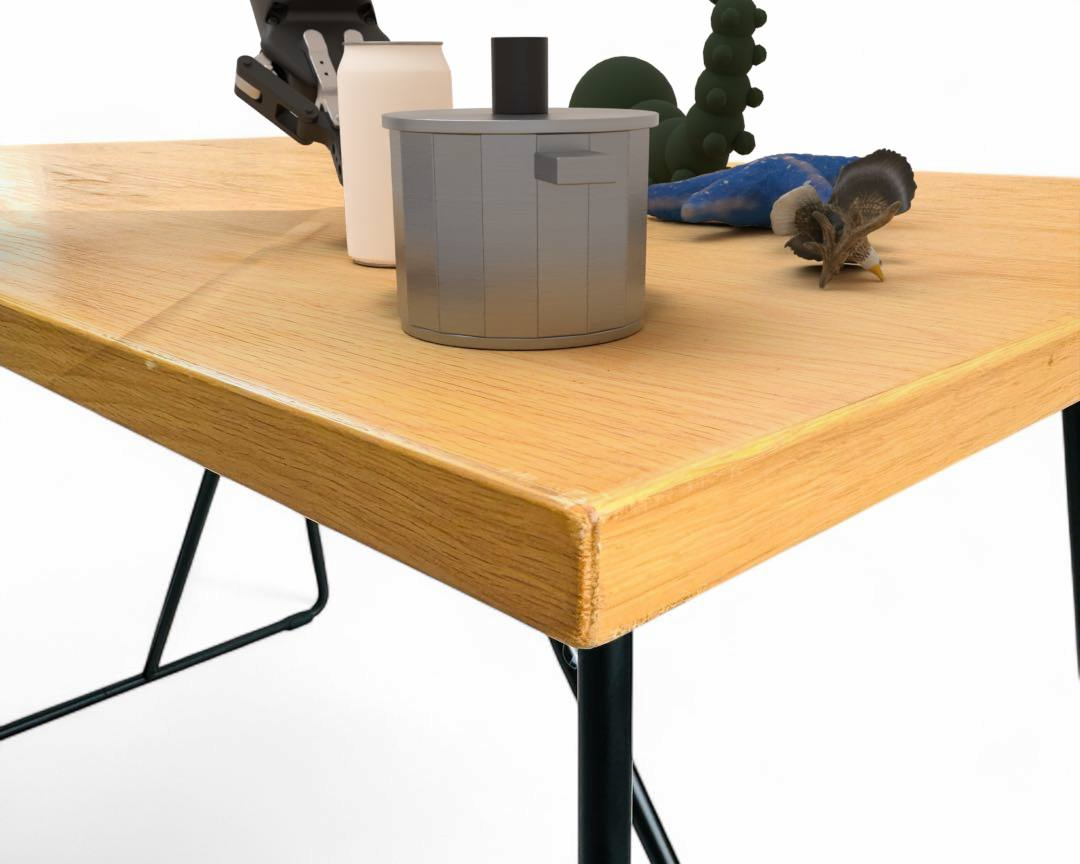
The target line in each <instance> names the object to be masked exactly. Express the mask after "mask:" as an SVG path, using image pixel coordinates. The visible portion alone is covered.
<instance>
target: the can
mask: <svg viewBox="0 0 1080 864" xmlns="http://www.w3.org/2000/svg"><path fill="white" fill-rule="evenodd" d="M342 44H343V45H344V54H343V57H342V60H341V62H340V65H339V68H338V71H337V87H338V106H339V123H340V139H341V156H342V172H343V186H342V187H343V202H344V216H345V231H346V233H345V234H346V246H347V254H348V256H349V257H351V258H352V260H353V262H354V263H355V264H357V265H361V266H367V267H377V268H396V259H395V238H394V218H393V197H392V177H391V156H390V136H389V129H385V128H383V127H382V114H385V113H391V112H400V111H414V110H433V109H454V103H453V102H454V101H453V100H454V99H453V80H452V77H453V76H452V71H451V68H450V65H449V63H448V61H447V59H446V56H445V55H444V51H443V47H442V46H443V45H444V42H443V41H436V40H435V41H431V40H430V41H428V40H427V41H426V40H425V41H423V40H422V41H421V40H419V41H416V40H412V41H409V40H407V41H406V40H405V41H403V40H402V41H399V40H397V41H396V40H395V41H393V40H392V41H391V40H390V41H371V42H343V43H342Z"/></svg>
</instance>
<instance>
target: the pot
mask: <svg viewBox="0 0 1080 864" xmlns="http://www.w3.org/2000/svg"><path fill="white" fill-rule="evenodd" d="M389 136H390V156H391V177H392V197H393V218H394V238H395V259H396V267H395V277H396V296H397V297H396V298H397V315H398V316H399V318H400V326H401V327H400V328H401V329H402V330H403V331H404V332H405V333H406V334H408V335H409V336H412V337H414V338H417V339H420V340H423V341H427V342H429V343H435V344H438V345H439V344H440V345H445V346H452V347H460V348H469V349H480V350H499V351H530V350H531V351H534V350H552V349H553V350H554V349H555V350H556V349H557V350H558V349H568V348H578V347H585V346H593V345H599V344H603V343H604V344H605V343H608V342H613V341H617V340H620V339H624V338H626V337H629V336H631V335H633V334H636V333H638V332H639V331H640V330H641V329H642V328H643V326H644V324H645V313H646V312H645V310H646V309H645V308H646V307H645V304H646V273H647V271H646V270H647V237H648V236H647V235H648V234H647V233H648V215H647V202H648V166H649V128H646V129H637V130H625V131H609V132H587V133H550V134H463V133H429V132H410V131H398V130H390V129H389Z"/></svg>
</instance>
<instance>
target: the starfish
mask: <svg viewBox="0 0 1080 864" xmlns="http://www.w3.org/2000/svg"><path fill="white" fill-rule="evenodd" d="M861 157H862V156H856V155H853V156H843V155H827V154H812V153H805V152H804V153H796V152H785V153H775V154H770V155H764V156H763V157H759V158H756V159H754V160H752V161H749V162H747V163H743V164H737V165H735V166H733V167H731V168H730V169H728V170H720V171H716V172H714V173H710V174H703V175H700V176H697V177H694V178H690V179H687V180H682V181H679V182H670V183H659V184H654V185H651V186H649V187H648V202H647V216H650V217H652V218H653V217H655V218H656V219H658V220H665V221H672V222H686V223H693V224H695V223H708V222H710V223H711V222H715V223H716V222H717V223H723V224H726V225H729V226H733V227H736V228H739V227H749V226H750V227H758V228H772V222H771V218H770V215H771V212H772V210H773V205H774V203H775V202H776V201H777V200H778V199H779V198H780V197H781V196H783V195H784V194H786V193H788V192H790V191H792V190H793V189H796V188H798V187H800V186H806V185H812V186H813V187H814V188H815V190H816V192H817V194H818V196H819V198H820V200H821V203H822V204H824V205H826V204H827V203H828V202H829V199H830V198H831V193H832V191H833V189H834V186H835V184H836V180H837V179H838V175H839V173H840V170H841V167H842V166H844V165H847V164H849V163H852V162H853V161H855V160H856V159H859V158H861ZM911 170H912V171H913V168H912V166H911Z"/></svg>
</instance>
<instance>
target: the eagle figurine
mask: <svg viewBox="0 0 1080 864" xmlns="http://www.w3.org/2000/svg"><path fill="white" fill-rule="evenodd" d="M860 157H861V158H859V159H856V160H855V161H853V162H852V163H849V164H847V165H844V166H842V167H841V170H840V173H839V175H838V179H837V180H836V184H835V186H834V189H833V191H832V193H831V198H830V199H829V202H828V203H827V204H826V205H824V204H822V203H821V200H820V198H819V196H818V194H817V192H816V190H815V188H814V187H813V186H812V185H806V186H800V187H798V188H796V189H793V190H792V191H790V192H788V193H786V194H784V195H783V196H781V197H780V198H779V199H778V200H777V201H776V202H775V203H774V205H773V210H772V212H771V215H770V218H771V222H772V227H771V229H772V231H773V233H774V234H775V235H776V236H777V237H788V236H792V235H793V237H791V238H790V239H789V240H788V241H786V242H785V244H784V246H783V248H790V251H793V255H794V256H796V257H797V258H801V259H803V260H806V261H816V262H817V263H820V262H822V270H821V274H820V277H819V281H818V287H819V289H821V290H823V289H825V288H826V286H827V285H828V284H829V283H830V282H831V281H832V280H833V278H834V277H835V276H837V275H839V273H840V269H841V268H844V265H845V264H852V265H858V264H859V265H860V266H861V267H862V268H863V269H864V270H865V271H867V272H868V273H872V274H873V275H875V276H876V277H877V278H878V279H879V280H880V281H885V278H886V277H885V275H884V273H883V270H882V267H883V261H882V259H881V258H880V256H879V255H878V253H877V252H876V250H875V249H874V247H873V245H871V243H870V240H869V238H868V235H870V234H871V233H873V232H875V231H877V230H880V229H881V228H883V227H884V226H886V225H887V224H889V223H890V222H892V220H893V218H894V217H897V216H899V215H902V214H905V213H907V212H908V211H909V210H911V207H912V201H913V200H914V199H915V195H916V190H917V189H918V185H917V182H916V181H915V172H914V171H913V169H912V170H911V167H912V165H911V163H910V162H908V158H907V156H905V155H902V154H901V153H900V152H897V151H895V150H892V149H890V148H888V149H887V148H886V147H884V148H877V149H876V150H874V151H873V152H871V153H869V154H866V155H865V156H860Z"/></svg>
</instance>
